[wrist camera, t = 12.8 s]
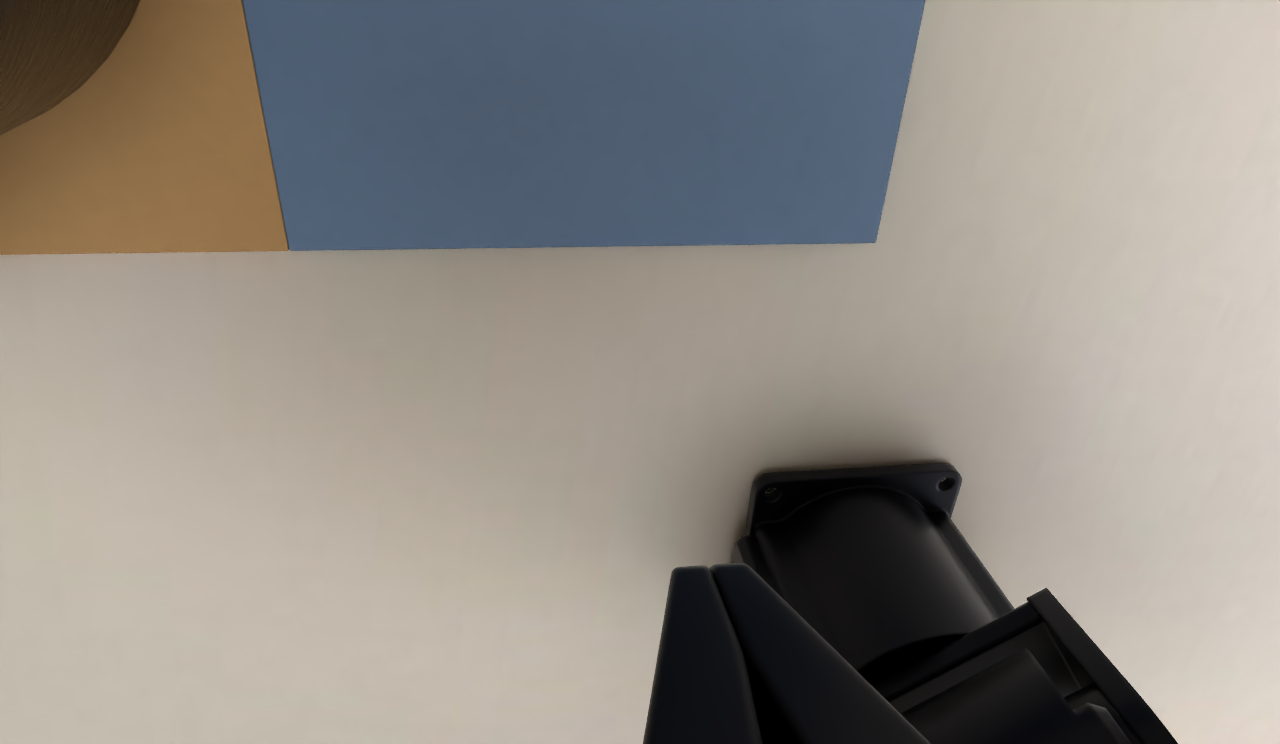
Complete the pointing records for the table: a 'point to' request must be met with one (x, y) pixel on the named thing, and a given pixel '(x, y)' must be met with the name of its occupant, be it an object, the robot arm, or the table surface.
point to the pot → (53, 51)
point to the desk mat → (469, 127)
